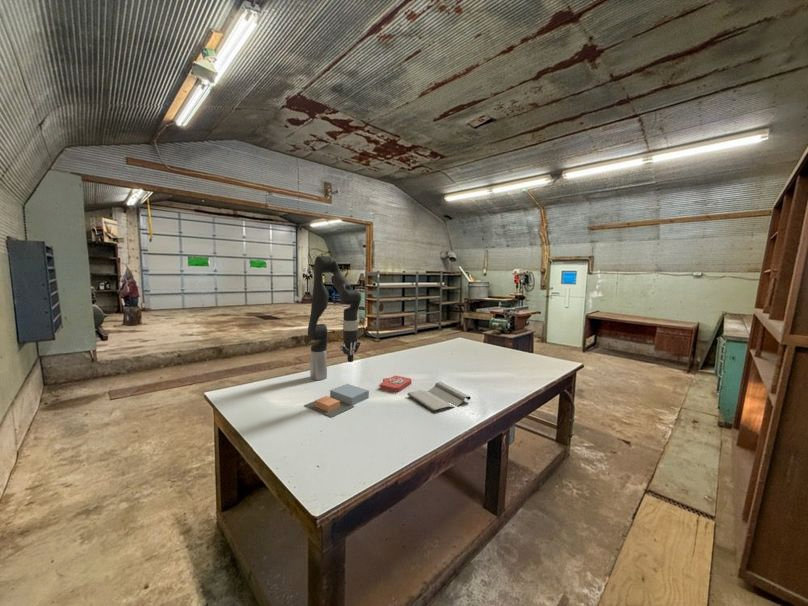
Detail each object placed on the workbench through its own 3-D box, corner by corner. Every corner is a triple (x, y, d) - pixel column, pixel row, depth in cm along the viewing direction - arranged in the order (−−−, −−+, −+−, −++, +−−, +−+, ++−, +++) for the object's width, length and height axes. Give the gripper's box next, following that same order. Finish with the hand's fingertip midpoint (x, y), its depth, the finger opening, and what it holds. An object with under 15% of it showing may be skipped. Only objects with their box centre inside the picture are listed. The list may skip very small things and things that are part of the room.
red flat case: (391, 373, 193) (412, 377, 186) (391, 379, 193) (412, 384, 186) (374, 382, 177) (397, 387, 170) (374, 388, 178) (397, 394, 171)
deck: (330, 397, 164) (330, 390, 163) (347, 390, 173) (347, 383, 173) (351, 405, 154) (351, 397, 154) (368, 397, 164) (368, 390, 163)
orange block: (326, 395, 157) (326, 401, 158) (314, 400, 152) (314, 406, 152) (339, 400, 151) (339, 406, 152) (328, 405, 146) (328, 412, 146)
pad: (304, 405, 153) (304, 405, 153) (326, 396, 164) (326, 396, 164) (331, 417, 141) (331, 416, 141) (354, 407, 153) (354, 406, 152)
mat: (406, 397, 166) (406, 389, 165) (441, 389, 179) (441, 381, 178) (434, 414, 147) (434, 405, 146) (470, 403, 159) (471, 394, 159)
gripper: (354, 325, 168) (354, 357, 170) (335, 329, 157) (335, 363, 159) (364, 327, 163) (364, 360, 165) (345, 331, 153) (345, 366, 155)
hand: (350, 361), depth 162 cm, fingers closed
